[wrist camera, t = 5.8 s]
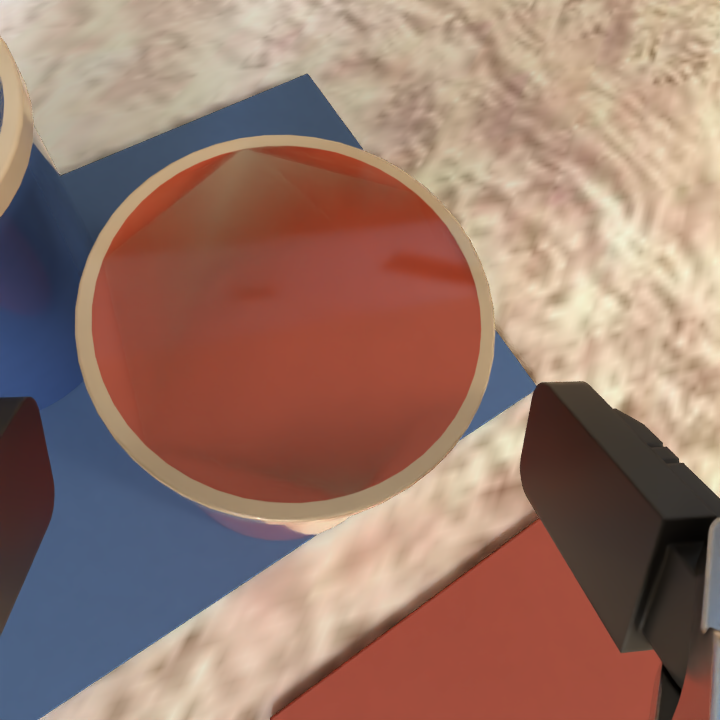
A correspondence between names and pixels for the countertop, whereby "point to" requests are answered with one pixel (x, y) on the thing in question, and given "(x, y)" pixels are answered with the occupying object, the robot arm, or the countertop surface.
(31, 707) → the blue mat
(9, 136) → the blue crock
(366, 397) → the red tapered cylinder
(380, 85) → the countertop surface
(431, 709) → the rust mat
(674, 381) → the countertop surface
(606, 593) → the robot arm
